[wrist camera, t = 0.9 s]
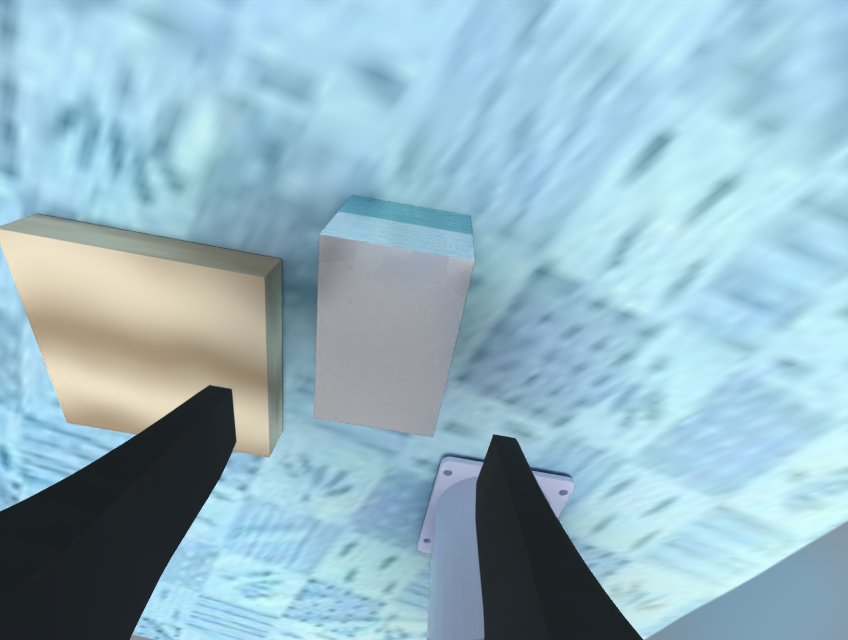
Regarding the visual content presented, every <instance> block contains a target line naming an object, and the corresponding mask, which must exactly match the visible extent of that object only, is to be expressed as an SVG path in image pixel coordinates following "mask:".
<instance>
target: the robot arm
mask: <svg viewBox="0 0 848 640" xmlns="http://www.w3.org/2000/svg"><path fill="white" fill-rule="evenodd" d="M236 442H237V440H236V429H235V417H234V406H233V395H232V389H230V388H224V387H219V386H213V385H209V386H207V387H206V388H204V389H203V390H201V391H200V392H198V393H197V394H195V395H194V396H192V397H191V398H190V399H188V400H187V401H185V402H184V403H182V404H181V405H180V406H178V407H177V408H175V409H174V410H172V411H171V412H170V413H168V414H167V415H165V416H164V417H162V418H161V419H159V420H158V421H156V422H155V423H153V424H152V425H150V426H149V427H147V428H146V429H145V430H143V431H142V432H140V433H139V434H137V435H136V436H134V437H133V438H131V439H130V440H128V441H126V442H125V443H123V444H122V445H120V446H118V447H117V448H115V449H114V450H112V451H110V452H109V453H107V454H106V455H104V456H102V457H101V458H99V459H97V460H96V461H94V462H93V463H91V464H89V465H88V466H86V467H84V468H83V469H81V470H79V471H77V472H76V473H74V474H72V475H70V476H69V477H67V478H65V479H63V480H61V481H60V482H58V483H56V484H54V485H52V486H50V487H48V488H46V489H45V490H43V491H41V492H39V493H37V494H35V495H33V496H31V497H29V498H27V499H25V500H23V501H21V502H19V503H17V504H15V505H13V506H11V507H9V508H7V509H5V510H3V511H0V640H130V637H131V635H132V633H133V631H134V629H135V627H136V625H137V623H138V621H139V619H140V617H141V615H142V613H143V611H144V609H145V607H146V605H147V603H148V601H149V599H150V597H151V595H152V593H153V591H154V589H155V587H156V585H157V583H158V581H159V579H160V577H161V575H162V573H163V571H164V570H165V568H166V566H167V564H168V562H169V561H170V559H171V557H172V556H173V554H174V552H175V551H176V549H177V547H178V546H179V544H180V543H181V541H182V539H183V538H184V536H185V534H186V533H187V531H188V530H189V528H190V526H191V525H192V523H193V521H194V520H195V518H196V517H197V515H198V513H199V512H200V510H201V508H202V507H203V505H204V504H205V502H206V500H207V499H208V497H209V495H210V494H211V492H212V490H213V489H214V487H215V485H216V484H217V482H218V480H219V479H220V477H221V475H222V473H223V471H224V469H225V466H226V464H227V462H228V460H229V458H230V456H231V453H232V451H233V449H234V447H235V444H236ZM574 487H575V485H574V482H573V479H571V478H570V477H566V476H560V475H554V474H548V473H543V472H537V471H532V470H531V468H530V466H529V464H528V462H527V460H526V458H525V456H524V454H523V452H522V450H521V447H520V445H519V443H518V441H517V440H516V439H515V438H511V437H505V436H500V435H493V437H492V440H491V443H490V446H489V448H488V451H487V454H486V457H485V459H484V462H479V461H473V460H467V459H461V458H456V457H445V458H443V459H442V460H441V463H440V467H439V470H438V474H437V477H436V481H435V484H434V488H433V491H432V495H431V498H430V502H429V505H428V509H427V513H426V516H425V520H424V523H423V527H422V530H421V534H420V537H419V541H418V550H419V551H420V552H422V553H427V554H432V555H431V574H430V593H429V612H428V631H427V640H643V639H642V638H641V637H640V635H639V634H638V633H637V632H636V630H635V629H634V628H633V627H632V626H631V624H630V623H629V622H628V621H627V619H626V618H625V617H624V616H623V615H622V613H621V612H620V611H619V609H618V608H617V607H616V605H615V604H614V603H613V601H612V600H611V599H610V597H609V596H608V595H607V593H606V592H605V591H604V589H603V588H602V586H601V585H600V584H599V582H598V581H597V579H596V578H595V576H594V575H593V574H592V572H591V571H590V569H589V568H588V566H587V565H586V563H585V562H584V560H583V559H582V557H581V556H580V554H579V553H578V551H577V550H576V548H575V546H574V545H573V543H572V542H571V540H570V538H569V537H568V535H567V534H566V532H565V530H564V529H563V527H562V525H561V524H560V522H559V520H558V516H559V515H560V513H561V511H562V509H563V507H564V506H565V504H566V502H567V500H568V498H569V497H570V495H571V493H572V491H573V489H574Z"/></svg>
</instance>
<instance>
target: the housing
mask: <svg viewBox="0 0 848 640" xmlns="http://www.w3.org/2000/svg"><path fill="white" fill-rule="evenodd" d="M474 263H475V256H474V245H473V235H472V225H471V216H469V215H463V214H457V213H452V212H446V211H440V210H435V209H429V208H423V207H417V206H412V205H406V204H400V203H395V202H389V201H383V200H377V199H372V198H366V197H360V196H355V195H352V196H351V197H350V198H349V199H348V201H347V202H346V203H345V204H344V205H343V206H342V208H341V209H340V210H339V211H338V212H337V214H336V215H335V216H334V217H333V218H332V220H331V221H330V222H329V223H328V224H327V225H326V227H325V228H324V229H323V230H322V231H321V233H320V234H319V261H318V297H317V333H316V370H315V406H314V418H318V419H324V420H330V421H336V422H343V423H349V424H355V425H361V426H367V427H373V428H379V429H386V430H392V431H398V432H404V433H410V434H416V435H423V436H429V437H434V432H435V428H436V424H437V420H438V416H439V411H440V407H441V403H442V399H443V394H444V390H445V386H446V382H447V377H448V373H449V369H450V365H451V361H452V356H453V352H454V348H455V344H456V339H457V335H458V331H459V327H460V322H461V318H462V314H463V310H464V306H465V301H466V297H467V293H468V289H469V284H470V280H471V276H472V272H473V267H474Z"/></svg>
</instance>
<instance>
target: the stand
mask: <svg viewBox="0 0 848 640" xmlns="http://www.w3.org/2000/svg"><path fill="white" fill-rule="evenodd" d="M0 244H1V247H2V250H3V252H4V255H5V258H6V260H7V263H8V266H9V268H10V271H11V274H12V276H13V279H14V282H15V285H16V287H17V290H18V293H19V295H20V298H21V301H22V303H23V306H24V309H25V311H26V314H27V317H28V319H29V322H30V325H31V327H32V330H33V333H34V336H35V338H36V341H37V344H38V346H39V349H40V352H41V354H42V357H43V360H44V362H45V365H46V368H47V370H48V373H49V376H50V378H51V381H52V384H53V387H54V389H55V392H56V395H57V397H58V400H59V403H60V405H61V408H62V411H63V413H64V416H65V419H66V421H67V423H72V424H78V425H83V426H89V427H95V428H101V429H107V430H113V431H119V432H125V433H130V434H136V435H137V434H139V433H140V432H142V431H143V430H145V429H146V428H147V427H149V426H150V425H152V424H153V423H155V422H156V421H158V420H159V419H161V418H162V417H164V416H165V415H167V414H168V413H170V412H171V411H172V410H174V409H175V408H177V407H178V406H180V405H181V404H182V403H184V402H185V401H187V400H188V399H190V398H191V397H192V396H194V395H195V394H197V393H198V392H200V391H201V390H203V389H204V388H206V387H207V386H209V385H213V386H219V387H224V388H230V389H232V395H233V406H234V417H235V429H236V440H237V442H236V444H235V447H234V449H233V451H236V452H242V453H248V454H254V455H260V456H265V457H270V455H271V453H272V451H273V449H274V447H275V445H276V443H277V441H278V439H279V437H280V435H281V433H282V431H283V407H282V259H279V258H274V257H268V256H263V255H257V254H252V253H246V252H241V251H236V250H230V249H225V248H219V247H214V246H208V245H203V244H198V243H192V242H187V241H181V240H176V239H171V238H165V237H160V236H154V235H149V234H143V233H138V232H133V231H127V230H122V229H116V228H111V227H106V226H100V225H95V224H89V223H84V222H78V221H73V220H68V219H62V218H57V217H51V216H46V215H40V214H35V215H32V216H29V217H26V218H23V219H20V220H17V221H14V222H11V223H8V224H5V225H2V226H0Z"/></svg>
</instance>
